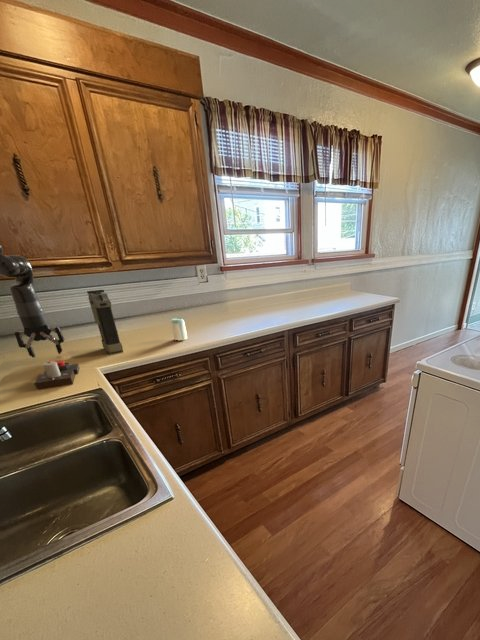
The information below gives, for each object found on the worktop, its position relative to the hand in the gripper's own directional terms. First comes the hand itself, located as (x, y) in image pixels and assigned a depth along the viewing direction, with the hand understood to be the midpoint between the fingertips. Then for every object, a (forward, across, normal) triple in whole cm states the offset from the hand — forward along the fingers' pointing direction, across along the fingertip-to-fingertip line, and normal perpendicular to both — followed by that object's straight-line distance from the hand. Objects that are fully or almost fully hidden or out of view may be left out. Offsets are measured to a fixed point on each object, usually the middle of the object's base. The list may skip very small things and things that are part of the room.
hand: (47, 355), depth 128 cm
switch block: (+12, -1, -11) cm, 16 cm away
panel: (+12, 0, 0) cm, 12 cm away
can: (+12, -56, -40) cm, 70 cm away
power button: (+8, -1, -11) cm, 14 cm away
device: (+12, -21, -37) cm, 44 cm away
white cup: (+9, 0, 0) cm, 9 cm away
